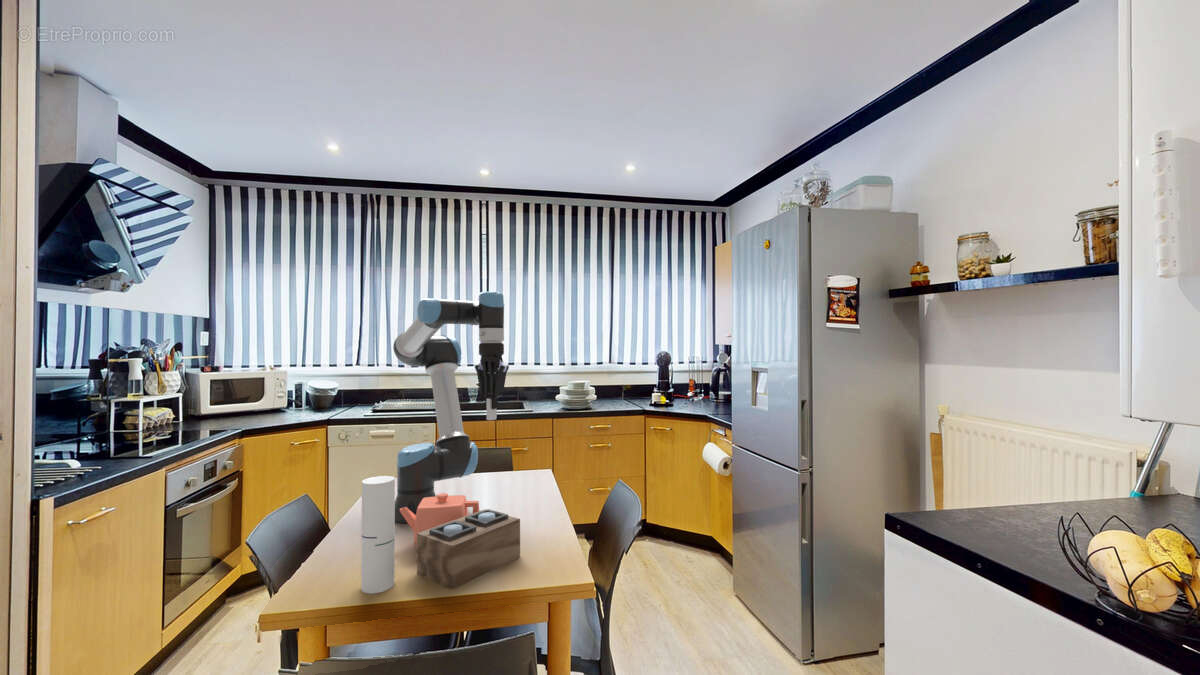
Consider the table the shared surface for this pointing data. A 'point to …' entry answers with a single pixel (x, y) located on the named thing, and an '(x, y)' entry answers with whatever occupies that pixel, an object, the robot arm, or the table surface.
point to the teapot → (437, 512)
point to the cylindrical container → (378, 534)
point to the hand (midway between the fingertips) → (491, 419)
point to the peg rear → (486, 516)
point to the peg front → (452, 528)
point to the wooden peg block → (467, 548)
